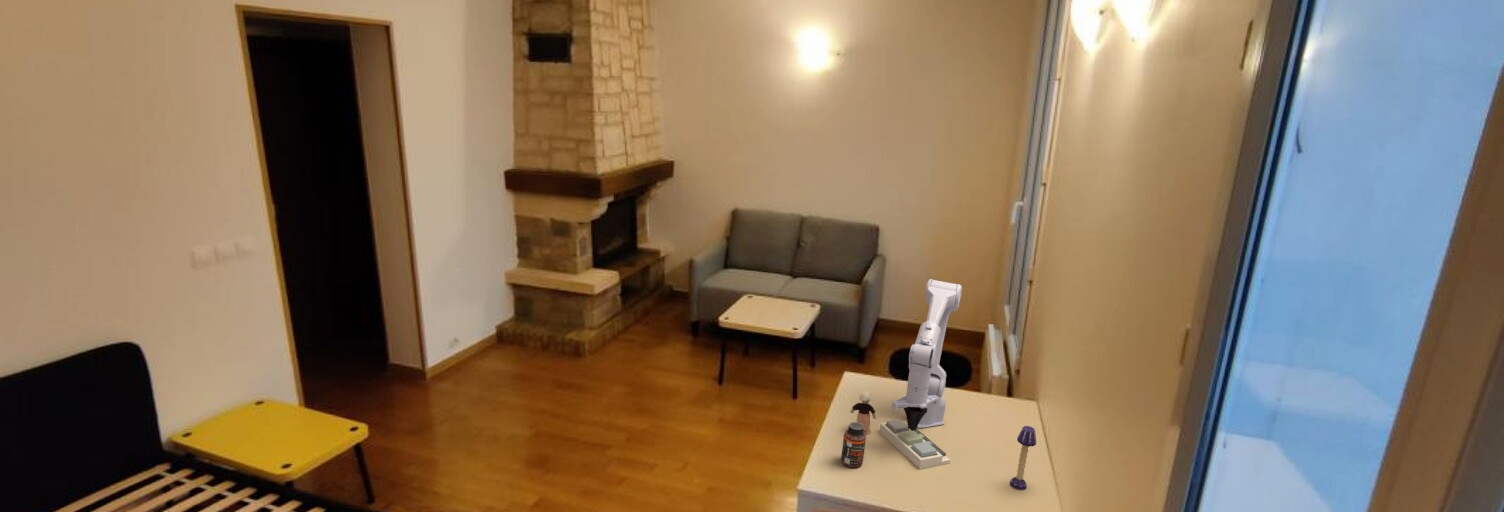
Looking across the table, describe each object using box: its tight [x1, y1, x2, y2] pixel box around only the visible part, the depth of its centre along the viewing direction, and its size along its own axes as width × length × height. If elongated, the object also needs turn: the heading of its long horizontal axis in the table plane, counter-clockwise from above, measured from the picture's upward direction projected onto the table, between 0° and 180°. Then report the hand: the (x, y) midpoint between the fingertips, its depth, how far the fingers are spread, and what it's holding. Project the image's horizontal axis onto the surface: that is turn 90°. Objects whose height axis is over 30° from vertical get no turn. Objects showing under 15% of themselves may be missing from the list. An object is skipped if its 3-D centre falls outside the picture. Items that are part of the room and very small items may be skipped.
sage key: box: [898, 430, 923, 445], centre depth 200 cm, size 5×5×1 cm
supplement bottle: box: [840, 421, 867, 469], centre depth 190 cm, size 6×6×11 cm
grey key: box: [886, 418, 909, 434], centre depth 206 cm, size 5×5×1 cm
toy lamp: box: [1009, 425, 1037, 490], centre depth 184 cm, size 5×5×17 cm
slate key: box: [912, 441, 937, 457], centre depth 194 cm, size 5×5×1 cm
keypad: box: [879, 421, 951, 470], centre depth 201 cm, size 10×20×3 cm, turn 23°
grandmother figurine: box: [849, 390, 878, 435], centre depth 206 cm, size 8×4×13 cm, turn 84°
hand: (911, 428), depth 199 cm, fingers closed
